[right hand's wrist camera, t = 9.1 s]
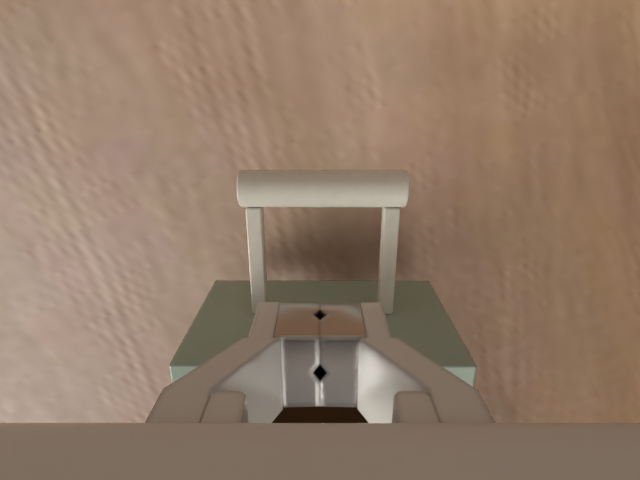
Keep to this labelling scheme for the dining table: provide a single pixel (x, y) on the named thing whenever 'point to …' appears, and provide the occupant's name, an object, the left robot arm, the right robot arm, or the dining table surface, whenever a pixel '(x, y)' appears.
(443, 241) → the dining table surface
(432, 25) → the dining table surface
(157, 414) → the right robot arm
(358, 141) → the dining table surface
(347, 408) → the drawer
